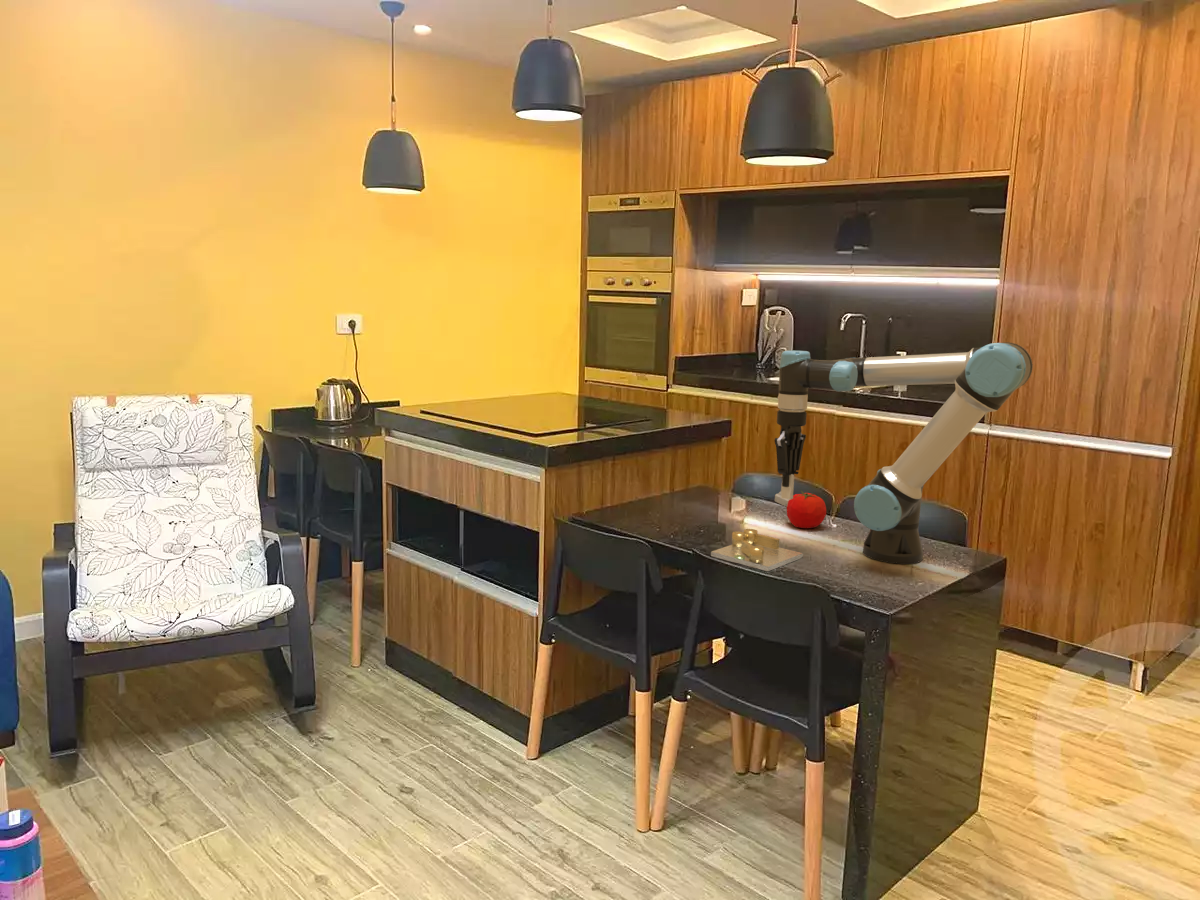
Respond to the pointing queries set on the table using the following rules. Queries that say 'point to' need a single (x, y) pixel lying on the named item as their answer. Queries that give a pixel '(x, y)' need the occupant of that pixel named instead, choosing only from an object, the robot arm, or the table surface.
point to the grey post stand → (781, 499)
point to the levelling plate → (734, 554)
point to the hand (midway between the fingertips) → (787, 498)
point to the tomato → (806, 510)
